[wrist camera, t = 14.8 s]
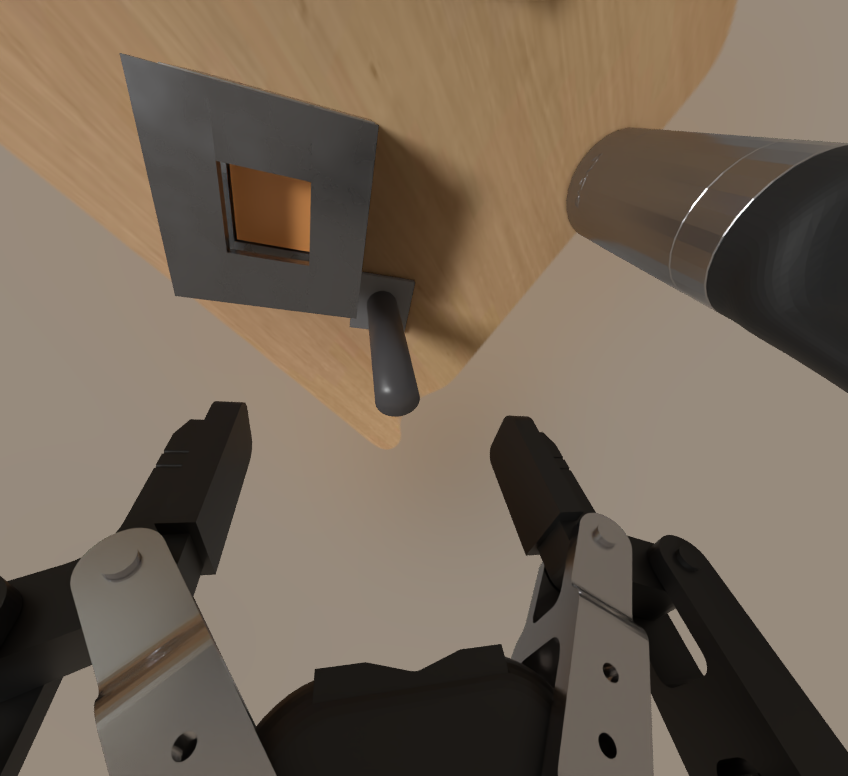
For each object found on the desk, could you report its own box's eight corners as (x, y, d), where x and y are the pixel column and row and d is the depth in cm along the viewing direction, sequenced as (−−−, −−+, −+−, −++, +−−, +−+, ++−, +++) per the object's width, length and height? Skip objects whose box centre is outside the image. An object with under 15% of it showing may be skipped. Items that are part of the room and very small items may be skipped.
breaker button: (325, 160, 26) (321, 168, 23) (322, 235, 30) (317, 253, 26) (246, 141, 25) (227, 146, 21) (252, 222, 28) (237, 239, 25)
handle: (399, 293, 35) (424, 385, 24) (394, 320, 37) (414, 417, 26) (368, 288, 34) (378, 381, 23) (365, 316, 36) (372, 415, 25)
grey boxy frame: (371, 120, 26) (378, 125, 19) (355, 270, 34) (356, 318, 26) (195, 70, 23) (119, 52, 16) (219, 248, 30) (175, 295, 23)
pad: (414, 280, 35) (415, 282, 35) (403, 330, 39) (404, 333, 38) (355, 270, 34) (355, 273, 33) (349, 324, 37) (349, 327, 37)
